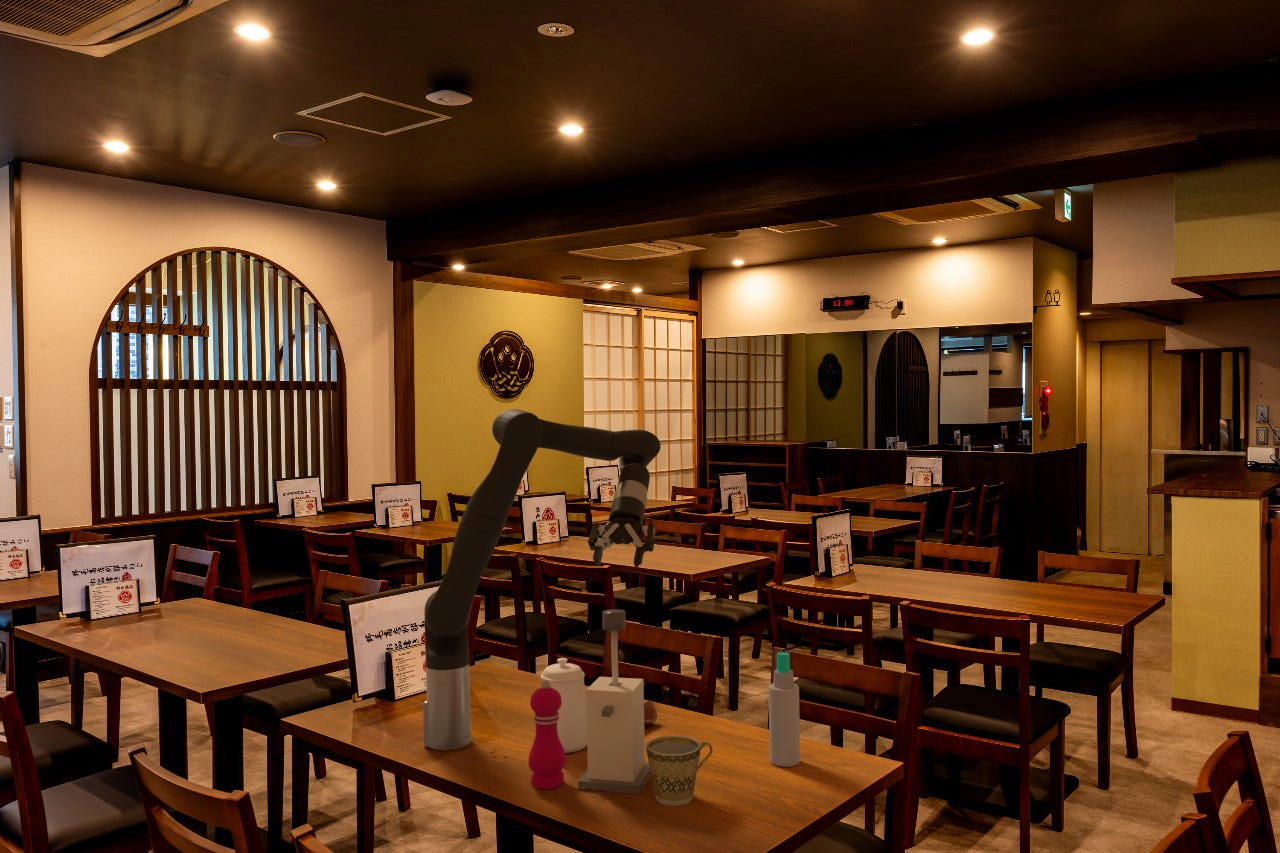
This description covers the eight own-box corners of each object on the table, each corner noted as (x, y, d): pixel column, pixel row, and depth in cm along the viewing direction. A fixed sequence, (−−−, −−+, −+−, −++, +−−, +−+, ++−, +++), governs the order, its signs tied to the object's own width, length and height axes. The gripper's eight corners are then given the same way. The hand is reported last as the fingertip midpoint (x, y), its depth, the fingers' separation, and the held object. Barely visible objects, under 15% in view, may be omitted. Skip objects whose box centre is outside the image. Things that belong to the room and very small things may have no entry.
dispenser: (576, 790, 178) (574, 693, 178) (596, 765, 191) (594, 674, 191) (638, 795, 175) (636, 696, 175) (654, 769, 188) (652, 677, 188)
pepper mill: (551, 793, 177) (549, 687, 177) (521, 786, 181) (518, 682, 181) (573, 780, 183) (571, 677, 183) (544, 773, 187) (542, 673, 187)
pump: (601, 720, 182) (599, 613, 182) (608, 713, 186) (606, 609, 186) (623, 721, 181) (621, 614, 181) (629, 714, 185) (627, 609, 185)
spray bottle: (766, 765, 189) (764, 656, 189) (773, 755, 195) (772, 648, 194) (796, 769, 187) (794, 658, 187) (802, 758, 193) (801, 651, 192)
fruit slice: (642, 734, 209) (642, 711, 209) (617, 729, 213) (617, 707, 213) (662, 723, 216) (662, 701, 216) (637, 718, 220) (637, 697, 220)
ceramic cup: (661, 814, 167) (660, 758, 167) (638, 793, 177) (637, 740, 176) (725, 801, 173) (724, 746, 172) (700, 781, 182) (699, 729, 182)
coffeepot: (520, 767, 191) (518, 674, 191) (555, 726, 215) (554, 643, 215) (572, 770, 189) (570, 676, 188) (602, 728, 213) (600, 645, 213)
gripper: (594, 494, 211) (580, 553, 200) (657, 494, 208) (645, 554, 197) (601, 515, 216) (588, 574, 205) (662, 516, 213) (652, 575, 202)
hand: (616, 564), depth 201 cm, fingers open, 8 cm apart
